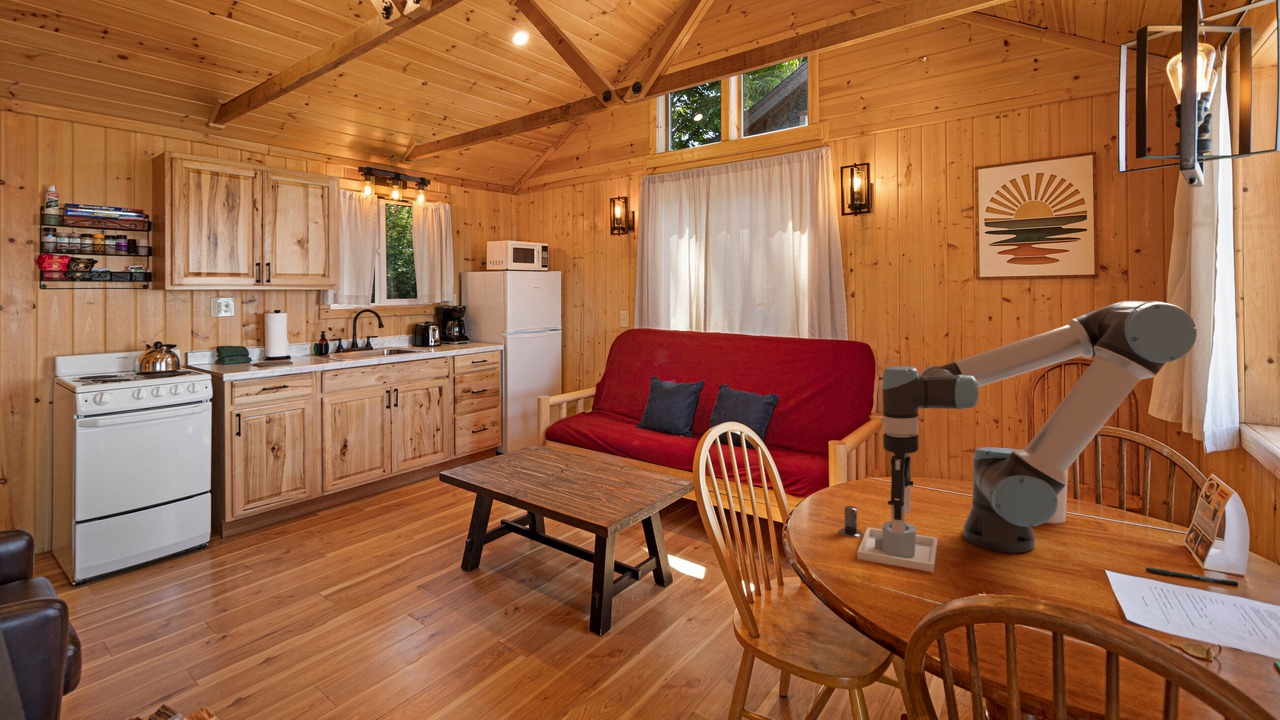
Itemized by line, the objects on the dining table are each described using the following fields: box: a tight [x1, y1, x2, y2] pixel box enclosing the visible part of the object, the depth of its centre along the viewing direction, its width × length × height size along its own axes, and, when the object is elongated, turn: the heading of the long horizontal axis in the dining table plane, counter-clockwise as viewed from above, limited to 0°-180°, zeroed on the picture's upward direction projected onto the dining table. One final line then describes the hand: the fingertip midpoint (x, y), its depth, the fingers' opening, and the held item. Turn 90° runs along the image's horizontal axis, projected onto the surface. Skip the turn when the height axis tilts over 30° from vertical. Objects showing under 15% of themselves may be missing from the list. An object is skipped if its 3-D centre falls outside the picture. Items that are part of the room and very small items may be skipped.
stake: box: [838, 505, 864, 539], centre depth 155 cm, size 6×6×7 cm
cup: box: [1045, 468, 1069, 524], centre depth 162 cm, size 8×8×16 cm
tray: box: [856, 526, 938, 574], centre depth 143 cm, size 16×16×2 cm
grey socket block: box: [875, 521, 917, 558], centre depth 144 cm, size 9×7×6 cm
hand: (901, 521), depth 143 cm, fingers open, 13 cm apart
